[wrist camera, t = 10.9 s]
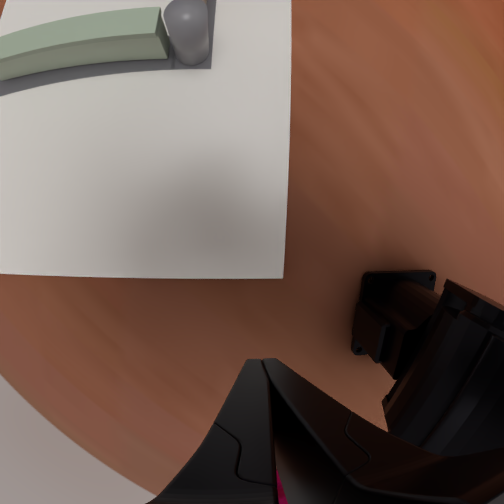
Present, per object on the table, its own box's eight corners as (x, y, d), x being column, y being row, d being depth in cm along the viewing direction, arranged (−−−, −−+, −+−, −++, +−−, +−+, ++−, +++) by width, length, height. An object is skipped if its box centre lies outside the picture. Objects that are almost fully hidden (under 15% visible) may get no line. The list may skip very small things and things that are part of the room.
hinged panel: (170, 39, 16) (159, 6, 11) (167, 61, 16) (154, 33, 12) (5, 63, 14) (-30, 47, 10) (1, 83, 15) (-36, 71, 10)
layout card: (287, -63, 15) (306, -110, 9) (281, 275, 21) (305, 313, 15) (23, -33, 12) (-8, -63, 6) (-10, 270, 18) (-57, 297, 13)
